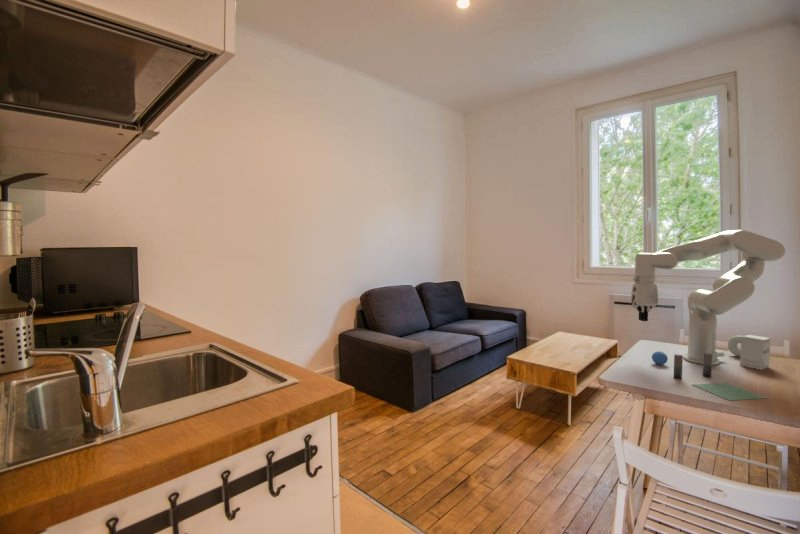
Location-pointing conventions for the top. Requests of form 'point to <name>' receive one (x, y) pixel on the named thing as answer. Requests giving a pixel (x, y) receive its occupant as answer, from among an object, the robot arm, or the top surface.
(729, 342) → the donut
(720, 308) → the robot arm
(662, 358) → the ball
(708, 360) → the post
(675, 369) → the post
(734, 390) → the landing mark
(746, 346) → the supplement box
